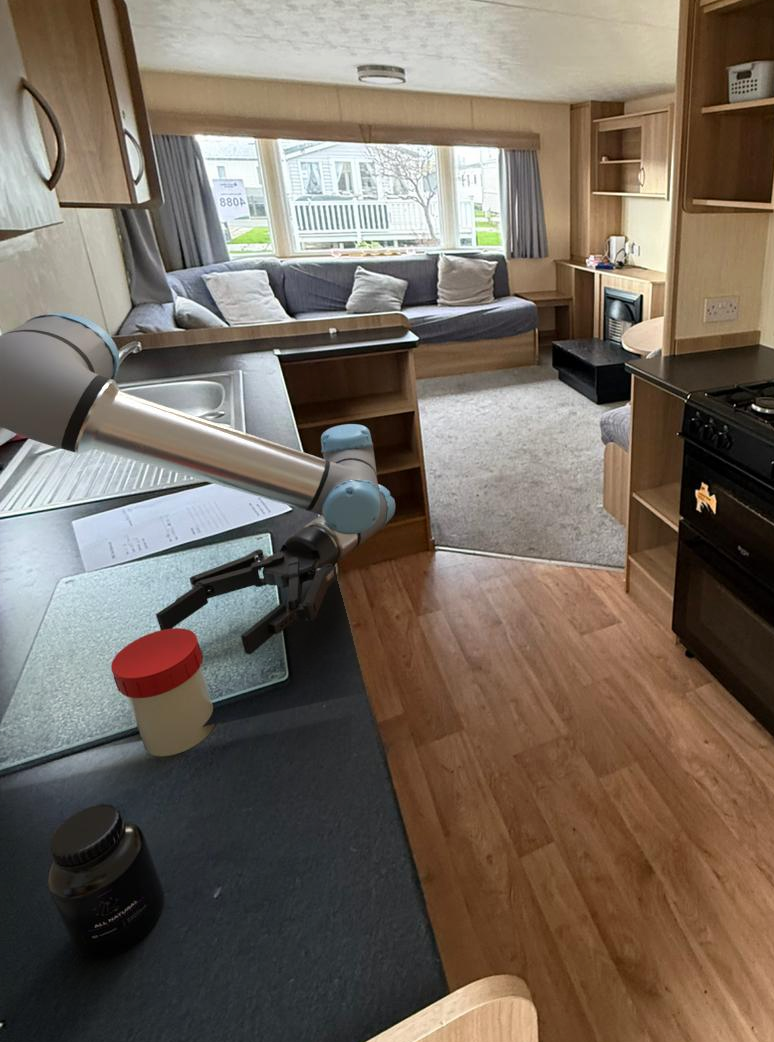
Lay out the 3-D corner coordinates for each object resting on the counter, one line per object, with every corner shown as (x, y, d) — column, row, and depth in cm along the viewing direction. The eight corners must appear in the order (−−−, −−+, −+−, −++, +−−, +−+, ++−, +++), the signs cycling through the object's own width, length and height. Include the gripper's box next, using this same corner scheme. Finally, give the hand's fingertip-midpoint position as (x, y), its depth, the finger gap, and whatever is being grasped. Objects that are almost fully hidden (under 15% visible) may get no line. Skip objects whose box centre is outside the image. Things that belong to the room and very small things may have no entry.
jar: (135, 763, 75) (105, 686, 71) (155, 714, 82) (130, 641, 77) (208, 747, 77) (184, 671, 73) (222, 701, 84) (201, 628, 79)
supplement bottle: (123, 970, 56) (80, 876, 51) (56, 954, 57) (8, 861, 52) (184, 888, 62) (150, 799, 57) (122, 876, 63) (85, 787, 58)
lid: (106, 706, 71) (98, 685, 70) (132, 655, 78) (126, 636, 77) (192, 688, 73) (186, 668, 72) (210, 641, 81) (204, 622, 80)
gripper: (392, 581, 97) (289, 679, 78) (259, 554, 104) (135, 638, 86) (385, 537, 94) (277, 629, 76) (249, 513, 102) (119, 591, 83)
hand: (201, 634), depth 81 cm, fingers open, 13 cm apart
